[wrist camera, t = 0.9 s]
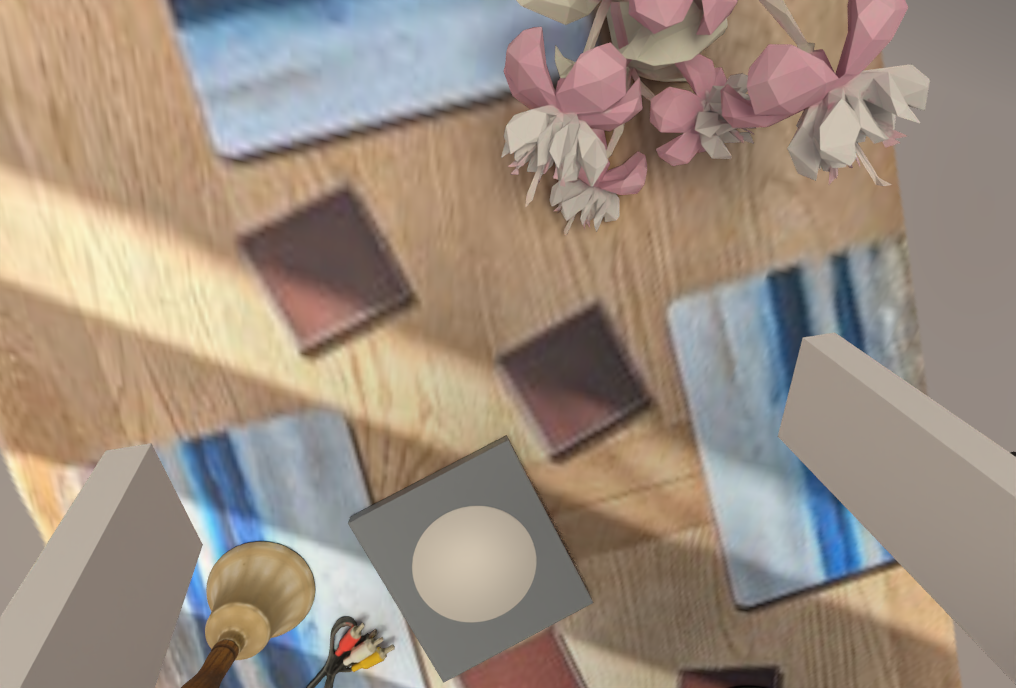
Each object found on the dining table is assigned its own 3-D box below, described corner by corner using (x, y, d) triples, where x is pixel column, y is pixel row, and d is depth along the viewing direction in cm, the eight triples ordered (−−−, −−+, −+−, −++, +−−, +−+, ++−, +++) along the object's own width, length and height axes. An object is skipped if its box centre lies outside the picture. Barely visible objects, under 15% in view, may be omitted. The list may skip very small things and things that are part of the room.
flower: (372, -6, 38) (426, 11, 18) (652, -222, 36) (1076, -482, 16) (516, 221, 50) (647, 386, 29) (733, 69, 47) (1035, 134, 27)
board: (589, 594, 47) (593, 603, 46) (443, 672, 47) (443, 683, 46) (506, 435, 45) (508, 440, 43) (350, 516, 44) (347, 523, 43)
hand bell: (250, 655, 45) (144, 864, 29) (185, 578, 44) (37, 755, 28) (336, 598, 45) (276, 776, 29) (274, 520, 44) (176, 663, 28)
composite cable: (318, 714, 47) (310, 738, 44) (274, 680, 46) (264, 704, 43) (399, 632, 46) (397, 653, 44) (357, 597, 46) (351, 616, 43)
